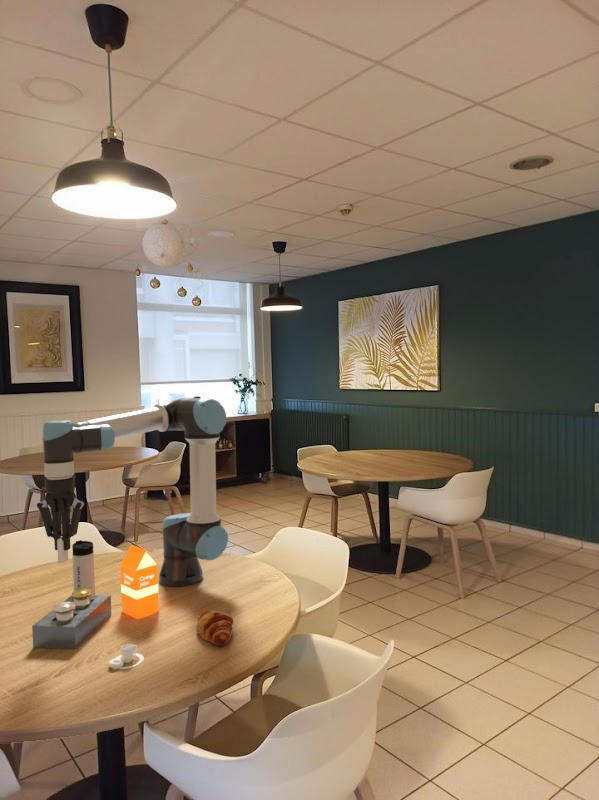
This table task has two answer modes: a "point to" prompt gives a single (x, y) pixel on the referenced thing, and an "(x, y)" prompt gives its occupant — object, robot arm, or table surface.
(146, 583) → the orange juice
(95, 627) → the mount
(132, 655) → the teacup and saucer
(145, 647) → the table surface
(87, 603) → the knob
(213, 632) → the croissant
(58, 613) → the knob
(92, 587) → the travel mug
